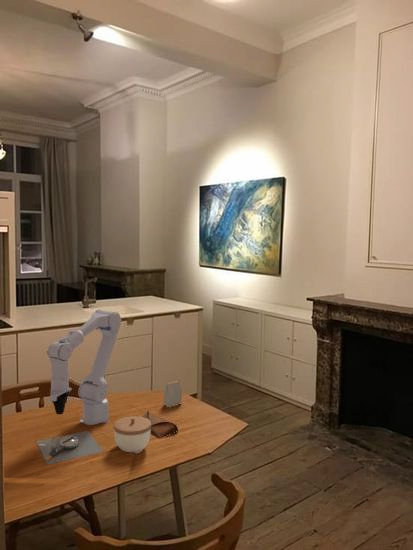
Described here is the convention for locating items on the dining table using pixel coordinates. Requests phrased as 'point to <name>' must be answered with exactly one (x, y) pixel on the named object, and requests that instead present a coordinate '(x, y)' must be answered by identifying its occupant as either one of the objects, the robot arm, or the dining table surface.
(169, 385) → the blue-gray rectangular block
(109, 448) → the dining table surface
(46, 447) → the grey square mat
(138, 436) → the lidded bowl
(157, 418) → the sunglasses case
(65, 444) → the grey piece
